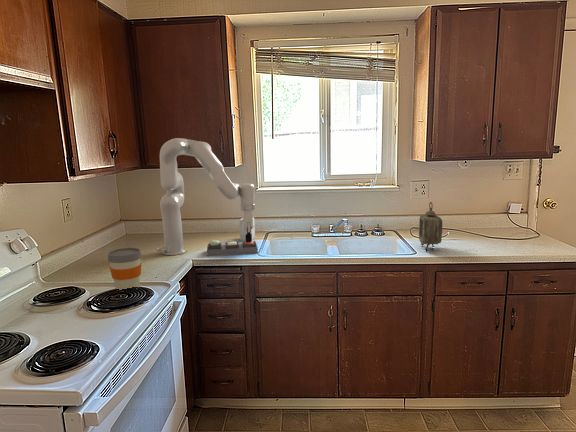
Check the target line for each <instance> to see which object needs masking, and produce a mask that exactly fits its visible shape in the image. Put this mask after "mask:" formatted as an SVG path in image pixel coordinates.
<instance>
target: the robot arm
mask: <svg viewBox="0 0 576 432" xmlns="http://www.w3.org/2000/svg"><path fill="white" fill-rule="evenodd" d="M182 155H183V156H188V157H189V156H190V157H193V158H195V159H196V161H197V162H198V163H199V164H200V165H201V167H202V168H203V169H204V170H205V172H206V173H207V174H208V176H209V178H211V180H212V182H213V184H214V185H215V186H216V188H217V189H218V191H219V192H220V193H221V194H222V195H223V196H224V198H226V199H227V200H236V198H238V197H239V199H240V200H239V201H240V203H239V205H240V211H241V212H242V218H243V229H244V230H245V229H246V234H245V235H246V242H252V241H253V240H252V234H251V229H253V218H254V212H255V211H256V200H255V199H256V198H255V195H256V193H255V191H256V189H255V185H254V183H237V182H232V181H231V179H230V178H229V177H228V175H227V174H226V172H225V169H224V165H223V164H222V162H221V161H220V159H219V158H218V157H217V156H216V155H215V153H214V152H213V151H212V147H211V145H210V144H209V143H208V142H206V141H200V140H193V139H188V138H181V137H175V138H172V139H170V140H167V141H166V142H164V143H163V144H162V146H161V147H160V150H159V173H160V174H159V175H160V185H161V187H162V189H163V190H165V191H166V193H165V194H164V195H163V196H162V197H161V199H160V203H159V207H160V212H161V213H160V214H161V220H162V230H163V242H164V244H162V246H159V247H155V251H156V252H161V253H162V254H163V255H164V256H177V255H182V254H185V253H186V252H187V248H186V247H184V238H183V237H184V236H183V224H182V223H183V222H182V214H181V209H180V208H181V207H182V206H183V205H184V203H185V184H184V178H183V175H182V174H181V173H180V172H179V171H178V162H177V158H178V156H182Z"/></svg>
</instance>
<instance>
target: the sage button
mask: <svg viewBox="0 0 576 432" xmlns="http://www.w3.org/2000/svg"><path fill="white" fill-rule="evenodd" d="M209 243H210V246H219V245H220V244H219V243H220V240H218V239H213V240H210V241H209Z"/></svg>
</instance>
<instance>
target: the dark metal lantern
mask: <svg viewBox="0 0 576 432" xmlns="http://www.w3.org/2000/svg"><path fill="white" fill-rule="evenodd" d="M433 207H434V205H433V202H432V201H429V204H428V208H429V210H427V211H426V212H425V213H424V214H420V215H419V222H418V223H419V224H418V239H419V242H420V246H421V245H426V248H424V250H427V251H428V248H429V246H430V245H431V248H432V247H435V246H434V245H439V244H441V243H442V237H443V220H442V218H441V217H440V216H438V215H437V214H436V212H435V211H434V210H433Z"/></svg>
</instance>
